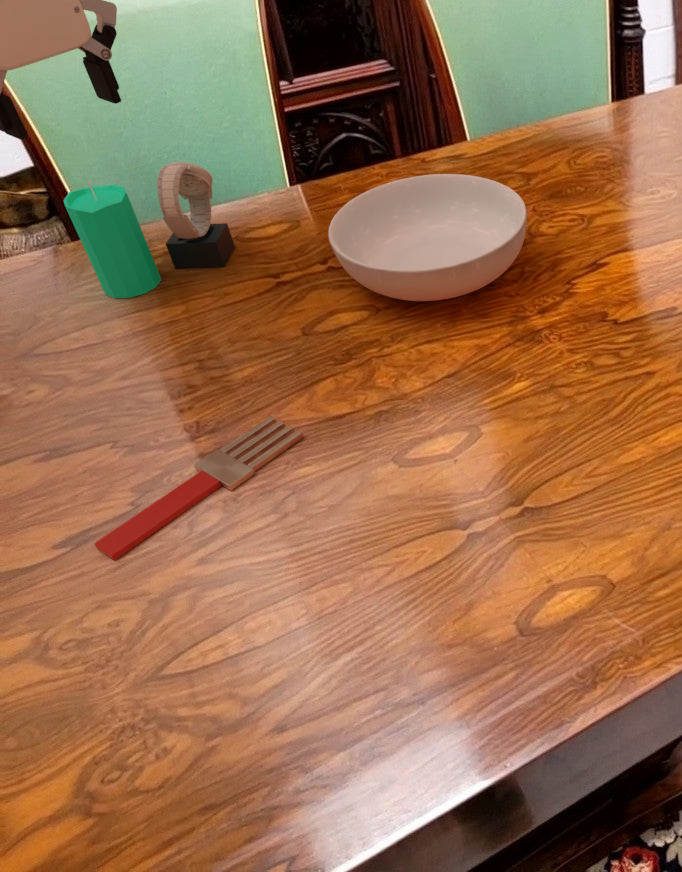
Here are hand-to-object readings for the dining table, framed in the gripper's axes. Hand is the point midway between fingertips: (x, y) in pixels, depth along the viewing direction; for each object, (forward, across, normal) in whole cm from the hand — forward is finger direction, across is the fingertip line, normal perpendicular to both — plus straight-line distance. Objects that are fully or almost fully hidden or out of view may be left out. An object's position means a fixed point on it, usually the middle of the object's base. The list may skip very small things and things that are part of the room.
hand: (64, 117), depth 91 cm
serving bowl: (+19, -20, +27) cm, 38 cm away
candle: (+19, 0, 0) cm, 19 cm away
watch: (+19, -8, +2) cm, 20 cm away
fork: (+19, +16, +34) cm, 42 cm away
